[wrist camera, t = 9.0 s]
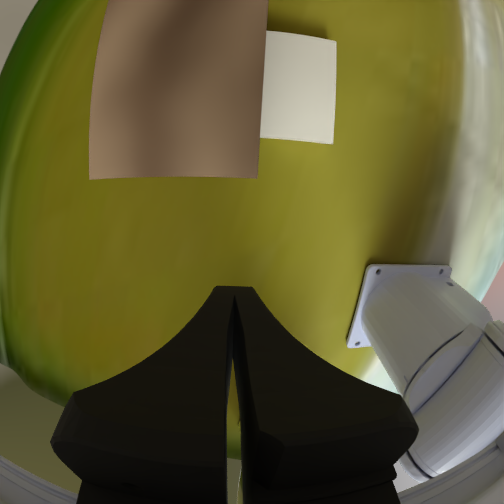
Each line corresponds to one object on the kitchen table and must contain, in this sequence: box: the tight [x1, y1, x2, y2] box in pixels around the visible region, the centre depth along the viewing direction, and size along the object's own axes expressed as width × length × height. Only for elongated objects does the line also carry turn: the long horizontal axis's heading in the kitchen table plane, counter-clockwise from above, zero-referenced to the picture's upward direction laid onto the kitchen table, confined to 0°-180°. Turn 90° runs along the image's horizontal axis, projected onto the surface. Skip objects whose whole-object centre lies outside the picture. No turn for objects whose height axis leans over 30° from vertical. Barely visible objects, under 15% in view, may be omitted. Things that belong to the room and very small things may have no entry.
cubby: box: [89, 0, 268, 179], centre depth 13 cm, size 9×12×4 cm
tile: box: [260, 31, 336, 144], centre depth 14 cm, size 12×7×2 cm, turn 87°
